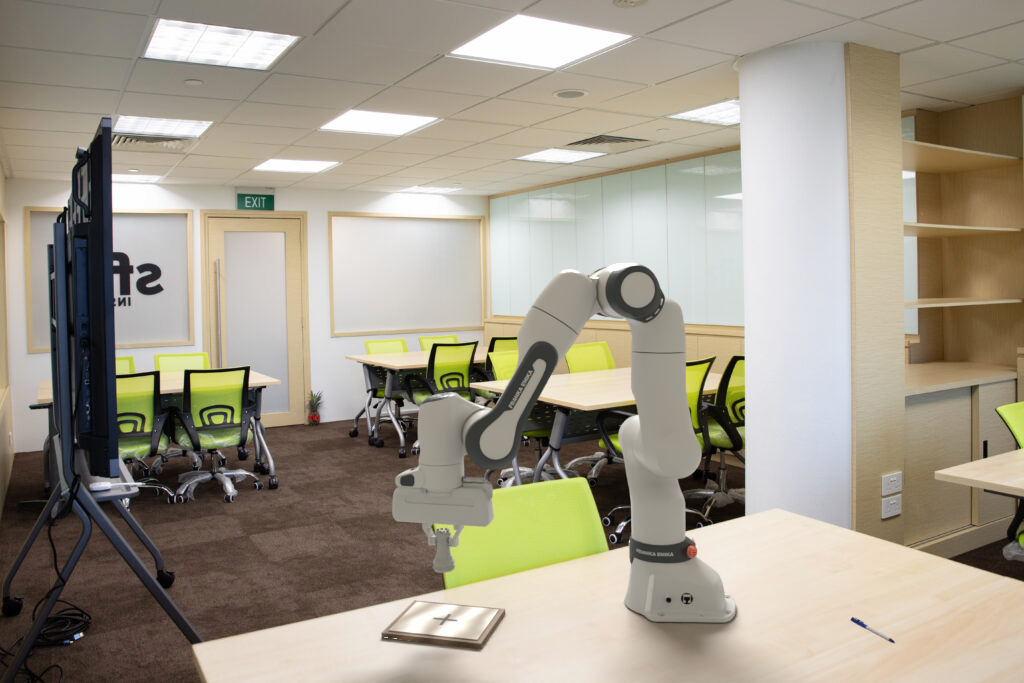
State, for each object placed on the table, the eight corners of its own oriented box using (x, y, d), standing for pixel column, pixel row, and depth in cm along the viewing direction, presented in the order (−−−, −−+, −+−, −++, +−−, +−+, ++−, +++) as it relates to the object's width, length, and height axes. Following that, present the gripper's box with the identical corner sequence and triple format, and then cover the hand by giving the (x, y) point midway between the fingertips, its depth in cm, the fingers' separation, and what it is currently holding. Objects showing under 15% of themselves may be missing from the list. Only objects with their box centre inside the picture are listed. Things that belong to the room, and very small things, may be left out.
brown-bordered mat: (505, 613, 155) (505, 607, 155) (481, 648, 140) (480, 642, 140) (414, 604, 161) (414, 599, 161) (381, 637, 145) (381, 631, 145)
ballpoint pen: (849, 621, 149) (849, 616, 149) (852, 620, 149) (852, 615, 149) (892, 643, 139) (892, 638, 139) (896, 642, 139) (896, 637, 139)
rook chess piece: (432, 565, 152) (431, 526, 151) (455, 564, 152) (454, 525, 152) (432, 574, 147) (430, 533, 147) (455, 572, 148) (454, 532, 147)
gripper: (497, 474, 149) (498, 543, 150) (400, 470, 154) (402, 536, 155) (487, 482, 143) (489, 554, 144) (387, 477, 148) (389, 546, 149)
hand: (443, 545), depth 149 cm, fingers closed on rook chess piece, 3 cm apart
